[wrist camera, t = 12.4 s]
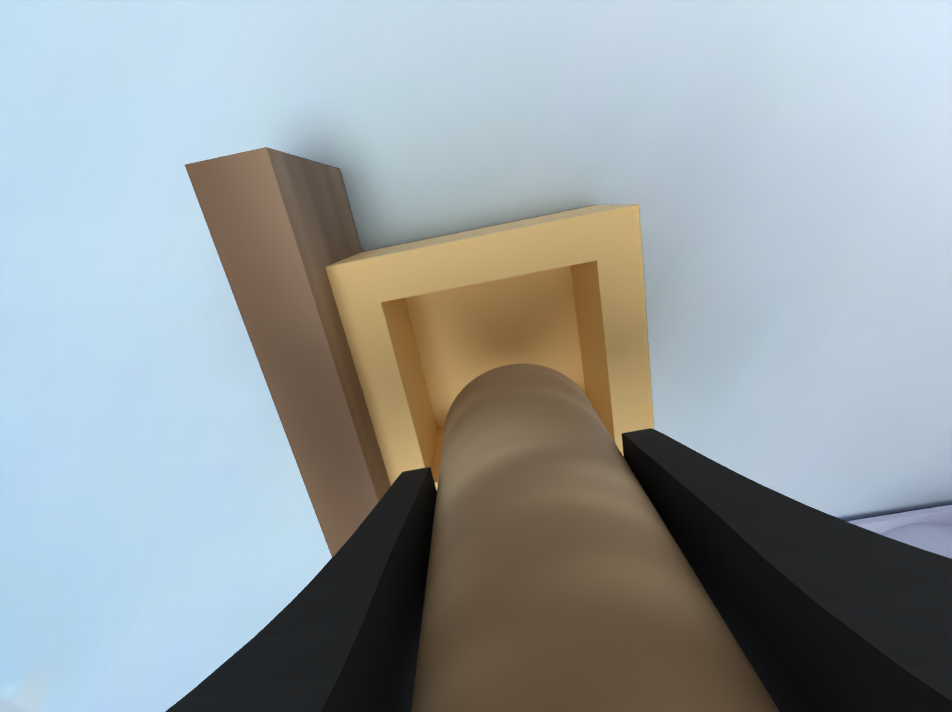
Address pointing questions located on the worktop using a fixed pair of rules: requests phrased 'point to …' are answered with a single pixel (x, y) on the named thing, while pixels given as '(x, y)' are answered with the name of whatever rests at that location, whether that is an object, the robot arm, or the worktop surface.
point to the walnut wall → (298, 318)
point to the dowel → (561, 571)
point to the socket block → (497, 321)
